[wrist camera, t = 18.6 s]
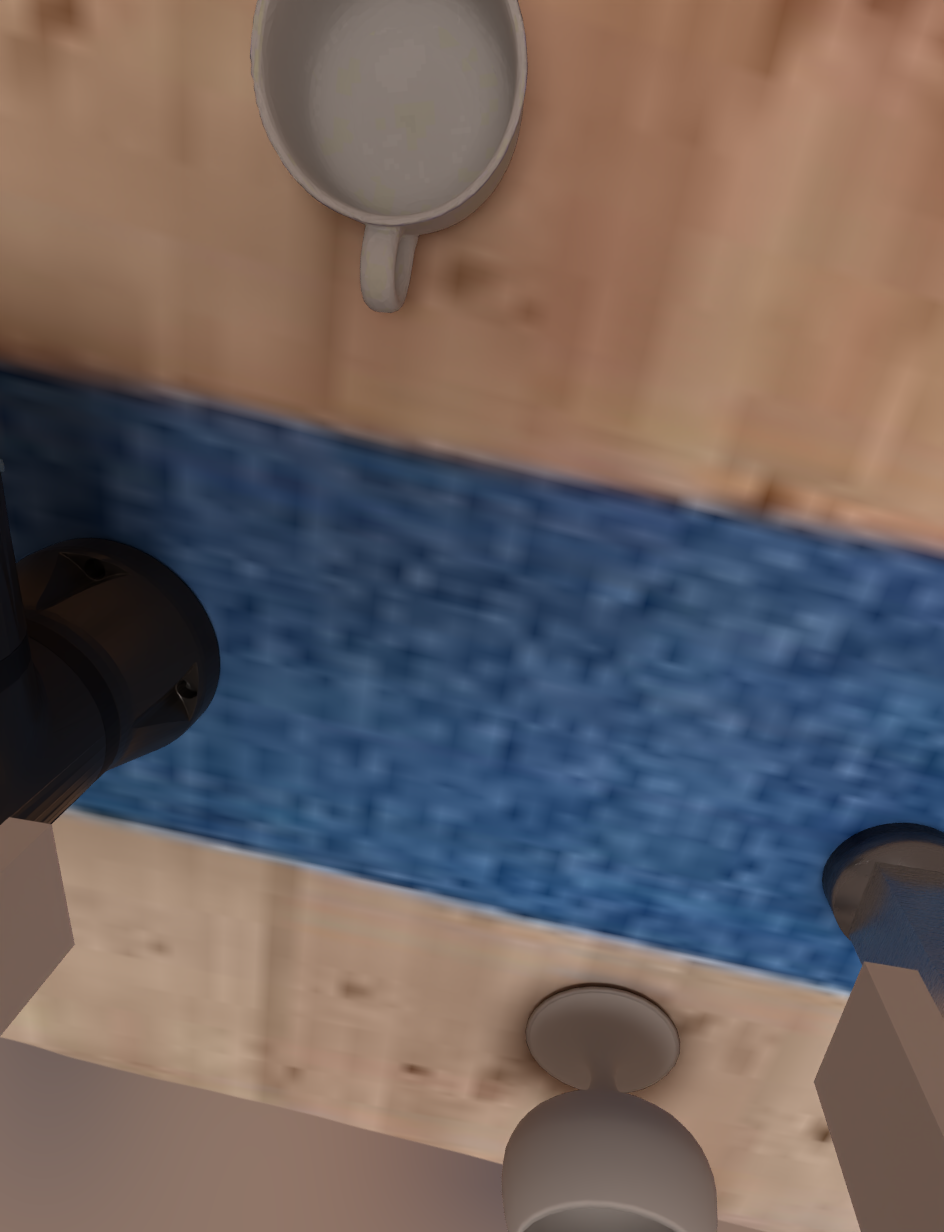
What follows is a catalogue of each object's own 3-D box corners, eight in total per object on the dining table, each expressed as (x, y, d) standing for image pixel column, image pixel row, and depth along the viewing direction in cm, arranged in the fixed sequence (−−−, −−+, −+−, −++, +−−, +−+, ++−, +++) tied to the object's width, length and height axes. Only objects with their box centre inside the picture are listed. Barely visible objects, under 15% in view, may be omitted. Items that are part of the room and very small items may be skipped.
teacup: (345, -51, 32) (277, -163, 25) (569, 26, 32) (567, -63, 25) (287, 272, 38) (217, 260, 30) (477, 338, 38) (453, 342, 30)
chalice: (604, 1118, 60) (612, 1352, 46) (480, 1029, 58) (450, 1248, 44) (729, 1045, 55) (781, 1285, 41) (598, 944, 53) (606, 1163, 39)
